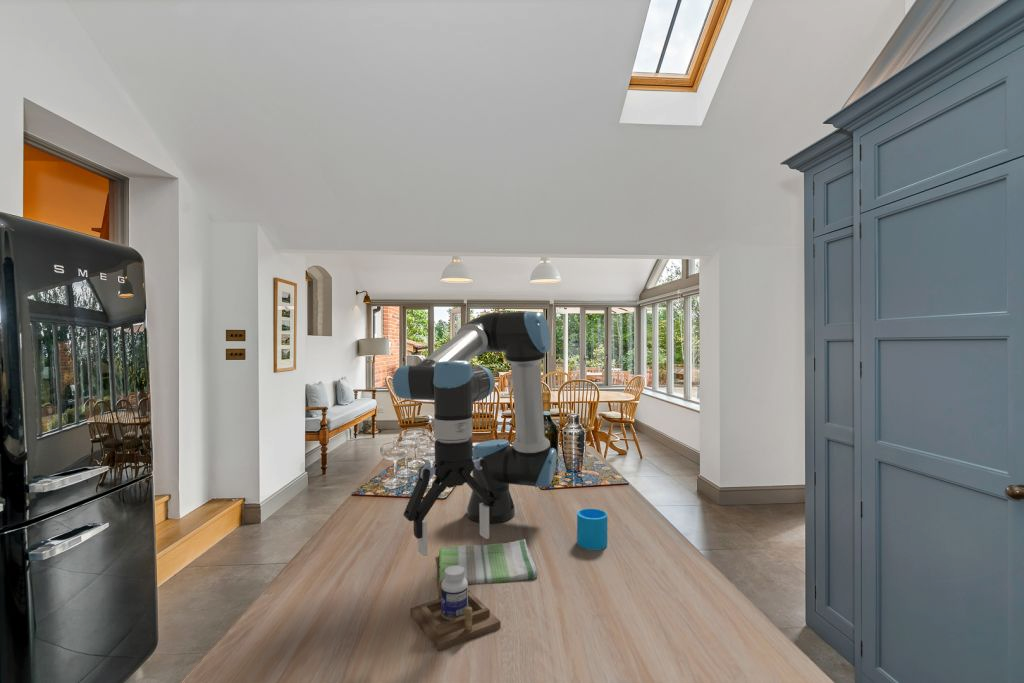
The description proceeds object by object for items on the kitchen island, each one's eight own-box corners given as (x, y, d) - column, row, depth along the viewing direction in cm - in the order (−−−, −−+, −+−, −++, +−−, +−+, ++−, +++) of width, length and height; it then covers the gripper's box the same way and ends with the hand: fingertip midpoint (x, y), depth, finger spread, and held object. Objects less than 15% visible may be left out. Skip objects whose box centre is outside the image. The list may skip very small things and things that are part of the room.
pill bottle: (442, 607, 100) (442, 564, 100) (467, 606, 100) (467, 563, 100) (440, 622, 94) (440, 576, 94) (467, 621, 95) (467, 575, 95)
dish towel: (538, 581, 113) (538, 566, 113) (438, 589, 110) (438, 573, 110) (526, 550, 130) (525, 536, 130) (439, 555, 127) (438, 542, 127)
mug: (611, 548, 130) (611, 518, 130) (582, 551, 129) (582, 520, 129) (596, 531, 142) (596, 503, 142) (569, 533, 140) (569, 504, 140)
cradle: (410, 613, 99) (410, 588, 99) (467, 595, 107) (466, 571, 106) (439, 650, 88) (438, 622, 88) (500, 627, 95) (500, 600, 95)
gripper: (399, 451, 87) (401, 569, 87) (516, 434, 100) (517, 536, 101) (385, 443, 93) (387, 553, 94) (497, 428, 107) (498, 524, 107)
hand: (454, 544), depth 97 cm, fingers open, 13 cm apart
